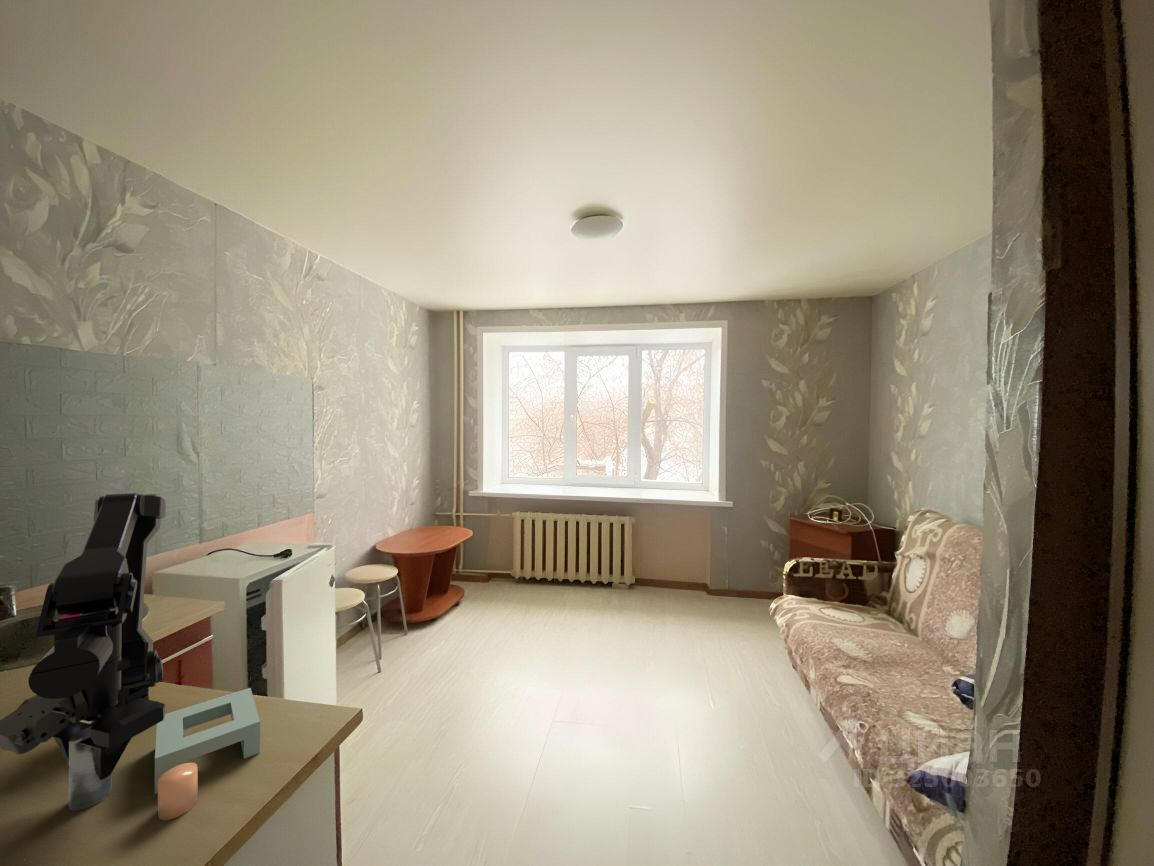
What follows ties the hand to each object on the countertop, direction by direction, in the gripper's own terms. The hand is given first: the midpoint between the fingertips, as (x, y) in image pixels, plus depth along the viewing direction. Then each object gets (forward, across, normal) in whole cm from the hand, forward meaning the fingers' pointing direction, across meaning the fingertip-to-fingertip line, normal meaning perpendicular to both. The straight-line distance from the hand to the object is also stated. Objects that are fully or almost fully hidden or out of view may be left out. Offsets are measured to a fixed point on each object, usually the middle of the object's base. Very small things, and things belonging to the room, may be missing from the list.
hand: (91, 773), depth 61 cm
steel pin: (+3, 0, 0) cm, 3 cm away
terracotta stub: (+3, +13, +2) cm, 14 cm away
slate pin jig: (+3, +6, +11) cm, 13 cm away
